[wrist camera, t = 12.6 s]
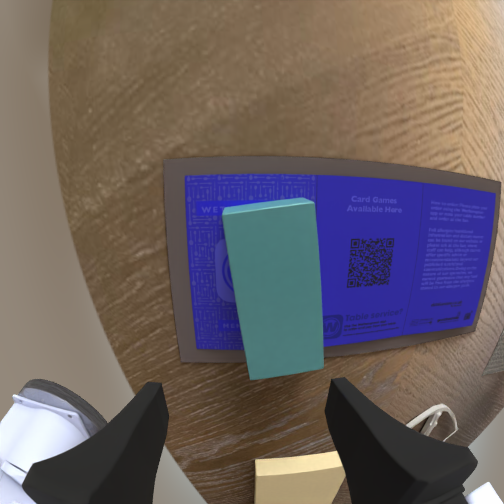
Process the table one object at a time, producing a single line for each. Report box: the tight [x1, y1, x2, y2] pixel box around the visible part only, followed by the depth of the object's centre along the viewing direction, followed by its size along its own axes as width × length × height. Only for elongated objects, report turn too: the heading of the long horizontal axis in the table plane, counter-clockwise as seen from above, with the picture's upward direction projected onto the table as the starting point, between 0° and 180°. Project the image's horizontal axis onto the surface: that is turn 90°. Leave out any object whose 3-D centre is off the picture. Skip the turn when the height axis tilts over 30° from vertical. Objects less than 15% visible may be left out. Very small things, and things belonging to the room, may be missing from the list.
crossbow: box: [406, 404, 458, 442], centre depth 26 cm, size 16×13×2 cm
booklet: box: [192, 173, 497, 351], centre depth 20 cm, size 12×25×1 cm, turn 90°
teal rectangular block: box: [222, 197, 324, 380], centre depth 18 cm, size 5×11×3 cm, turn 8°
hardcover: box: [254, 451, 346, 504], centre depth 26 cm, size 10×13×2 cm
